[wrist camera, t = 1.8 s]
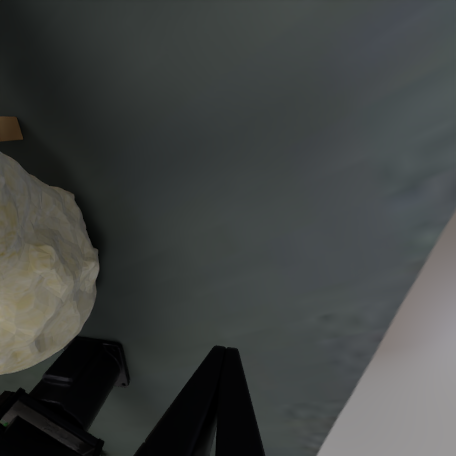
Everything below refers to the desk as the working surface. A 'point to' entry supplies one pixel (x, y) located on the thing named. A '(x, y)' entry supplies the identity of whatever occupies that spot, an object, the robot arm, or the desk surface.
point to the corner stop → (9, 129)
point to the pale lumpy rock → (41, 268)
